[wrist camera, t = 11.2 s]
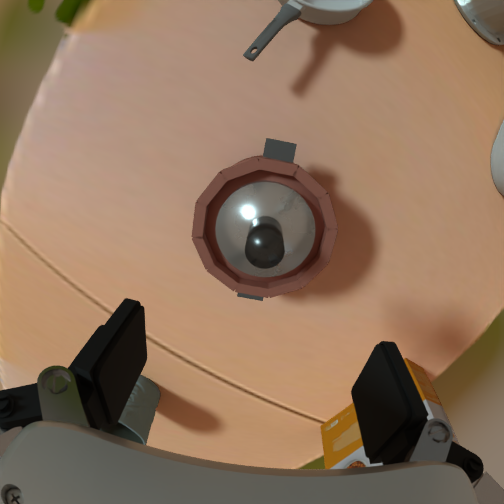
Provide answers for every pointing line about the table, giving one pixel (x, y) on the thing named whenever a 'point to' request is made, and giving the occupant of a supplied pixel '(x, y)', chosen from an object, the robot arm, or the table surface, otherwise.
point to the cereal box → (348, 432)
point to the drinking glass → (137, 412)
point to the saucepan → (307, 17)
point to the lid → (265, 228)
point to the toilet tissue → (498, 160)
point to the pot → (256, 169)
